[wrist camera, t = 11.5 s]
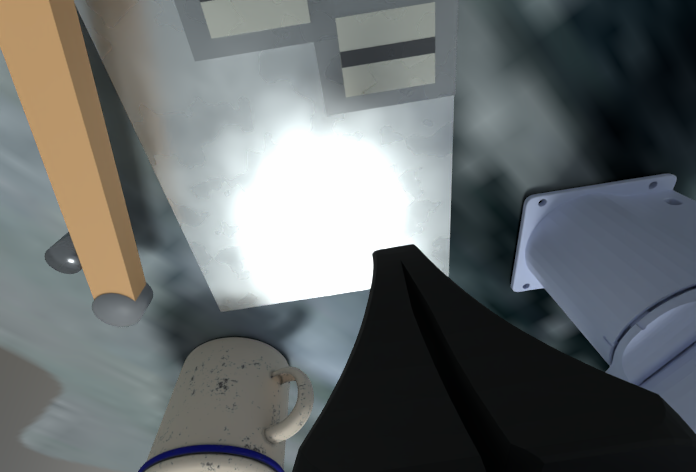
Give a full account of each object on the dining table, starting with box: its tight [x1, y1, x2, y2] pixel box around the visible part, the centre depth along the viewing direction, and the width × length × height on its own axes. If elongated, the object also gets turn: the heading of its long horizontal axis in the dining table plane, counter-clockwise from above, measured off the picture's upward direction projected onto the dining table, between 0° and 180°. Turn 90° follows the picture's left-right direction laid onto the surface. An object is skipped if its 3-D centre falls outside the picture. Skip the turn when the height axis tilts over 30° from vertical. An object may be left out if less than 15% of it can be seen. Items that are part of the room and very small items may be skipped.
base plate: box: [45, 0, 458, 312], centre depth 17 cm, size 21×22×4 cm
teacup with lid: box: [138, 337, 314, 472], centre depth 24 cm, size 12×9×12 cm
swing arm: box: [0, 0, 153, 327], centre depth 15 cm, size 20×3×4 cm, turn 173°
